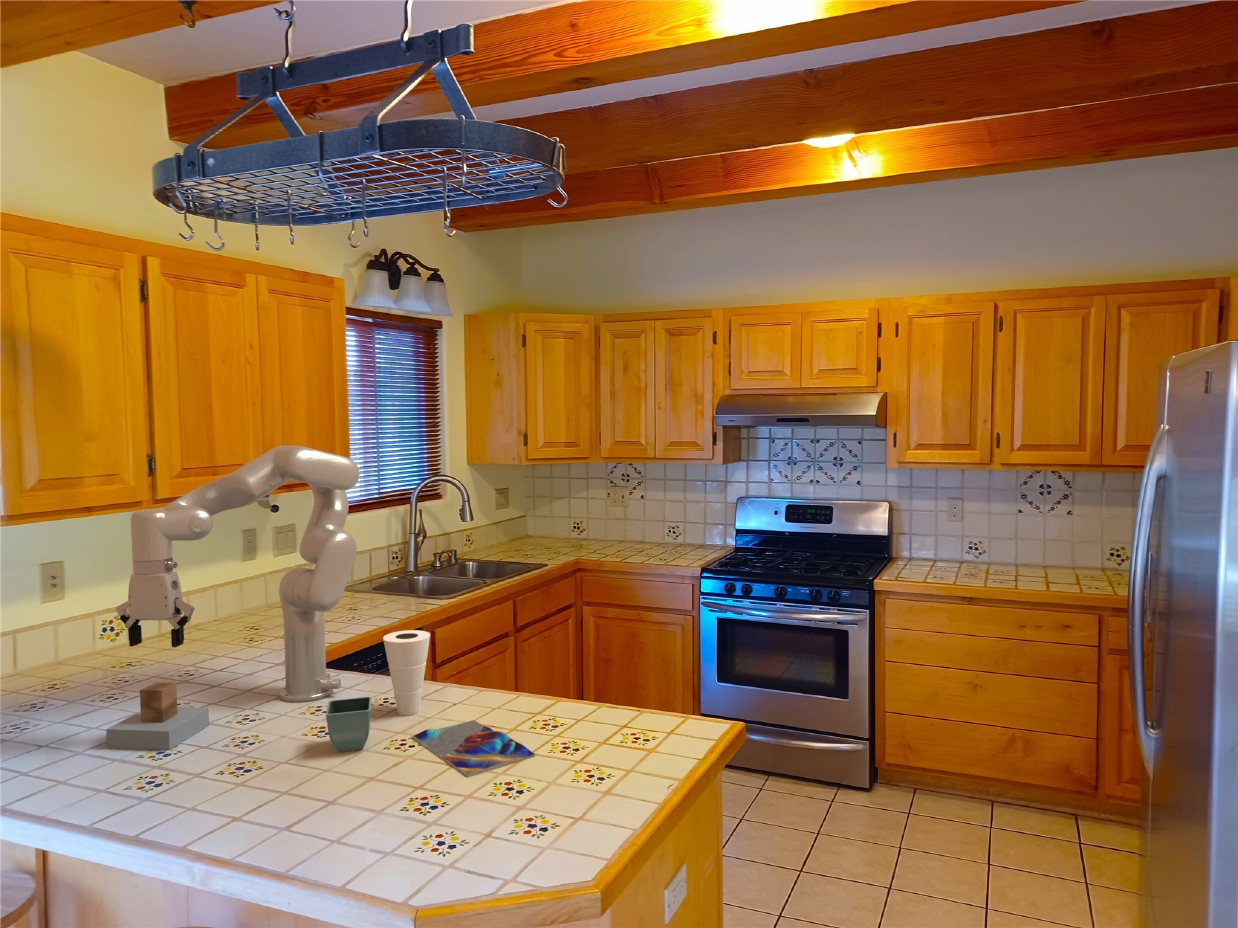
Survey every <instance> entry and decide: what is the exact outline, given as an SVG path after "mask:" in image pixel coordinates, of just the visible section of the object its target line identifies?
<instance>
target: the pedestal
mask: <svg viewBox="0 0 1238 928" xmlns="http://www.w3.org/2000/svg"><path fill="white" fill-rule="evenodd" d="M209 711H210V710H209V707H197V706H196V707H195V706H177V713H178V714H177V715H175V716H174V717H172V718H170V719H168V720H167V721H165V722H163V723H159V722H141V710H140V711H138V712H136V713H134V714H132V715H130V716H128V717H127V718H125V719H123V720H121V721H119V722H117V723H115V724H113V725H112V726H110V727H108V728H106V748H107V749H125V750H126V749H130V750H133V749H134V750H152V751H153V750H157V751H158V750H159V751H170V750H172V749H174V748H176V747H177V746H178V745H180V744H182V743H183V742H185V741H186V740H188V739H190V738H192V736H193V737H194V735H196V734H198V733H199V732H201V731H203V730H204V729H205V728H208V727H209V726H210V714H209V713H210V712H209Z"/></svg>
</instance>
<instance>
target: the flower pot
mask: <svg viewBox="0 0 1238 928" xmlns="http://www.w3.org/2000/svg"><path fill="white" fill-rule="evenodd" d="M371 711H372V696H363V697H362V696H360V697H352V698H344V699H343V698H342V699H334V700H333V699H332V700H329V701H327V708H326V712H325V718H326V725H327V731H328V736H329V739H330V742H331V744H332V745H333V747H334V749H335V750H336V751H337V752H348V751H349V752H350V751H357V750H363V749H364V747H365V745H366V743H367V741H368V739H369V734H370V729H371V726H370V725H371V715H372V713H371Z"/></svg>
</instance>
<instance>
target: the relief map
mask: <svg viewBox="0 0 1238 928" xmlns="http://www.w3.org/2000/svg"><path fill="white" fill-rule="evenodd" d="M410 739H412V740H413V741H415V742H416V743H417V744H419V745H420V746H422V747H423V748H425V749H426V750H428V751H429V752H430V753H432V754H433V755H435V756H436V757H438V758H439V759H440V760H442V761H443V762H444V763H446V764H448V765H449V766H451V767H452V768H453V769H455V770H457V771H458V772H459V773H461V774H462V775H464V776H465V777H467V778H471V777H474V776H478V775H481V774H483V773H487V772H491V771H493V770H496V769H500V768H503V767H507V766H510V765H512V764H516V763H519V762H522V761H526V760H529V759H532V758H535V757H536V753H534V752H533V751H532V750H530V749H528V748H527V746H525V745H524V744H522V743H520V742H518V741H516V740H515V739H513V738H511V737H510V736H509V735H508V734H507V733H505V732H503V731H501V730H493V729H492V728H491V727H489V726H486V725H484V724H482V723H480V722H478V721H476V720H475V719H473V720H469V721H465V722H462V723H458V724H453V725H451V726H450V725H449V726H446V727H441V728H440V727H439V728H428V729H425V730H422V731H420V732H418V733H416V734H414V735H411V736H410Z"/></svg>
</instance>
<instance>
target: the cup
mask: <svg viewBox="0 0 1238 928" xmlns="http://www.w3.org/2000/svg"><path fill="white" fill-rule="evenodd" d="M382 639H383V645H384V648H385V654H386V659H387V662H388V668H389V673H390V679H391V684H392V687H393V694H394V700H395V703H396V705H395V706H396V711H397V714H398V715H399V716H412V715H413V716H414V715H417V714H418V713H419V712H420V707H421V701H422V695H423V694H422V693H423V685H424V679H425V673H426V666H427V659H428V654H429V653H428V652H429V647H430V640H431V633H430V632H428V631H426V630H419V629H418V630H417V629H415V630H414V629H413V630H412V629H411V630H407V629H406V630H399V631H398V630H397V631H393V632H390V633H388V634H385V635H384V636H383V638H382Z"/></svg>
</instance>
